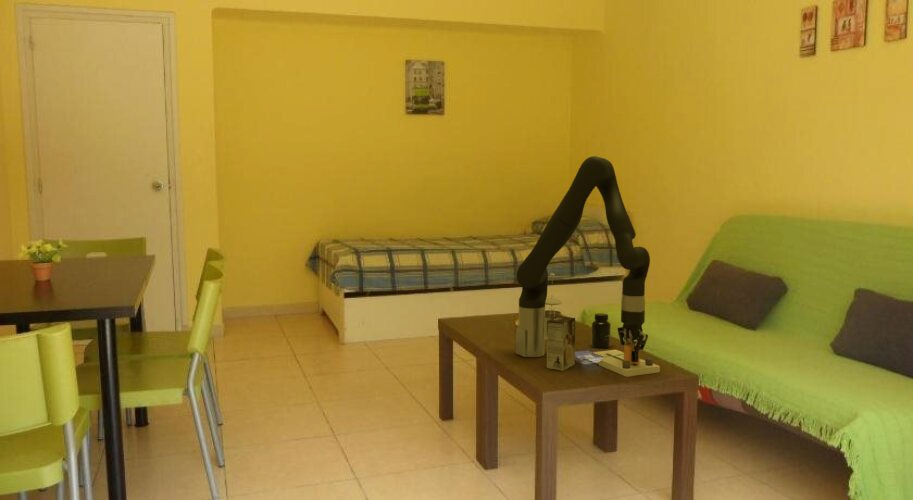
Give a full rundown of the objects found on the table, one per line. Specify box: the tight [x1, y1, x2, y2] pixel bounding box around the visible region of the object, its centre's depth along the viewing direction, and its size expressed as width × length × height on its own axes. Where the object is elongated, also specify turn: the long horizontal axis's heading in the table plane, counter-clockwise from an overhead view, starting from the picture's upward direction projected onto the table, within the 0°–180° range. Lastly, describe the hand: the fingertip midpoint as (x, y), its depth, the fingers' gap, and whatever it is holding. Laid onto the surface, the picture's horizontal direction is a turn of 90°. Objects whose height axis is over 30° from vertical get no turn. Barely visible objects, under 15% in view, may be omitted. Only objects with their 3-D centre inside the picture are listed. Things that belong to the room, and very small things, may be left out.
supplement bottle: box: [590, 312, 611, 349], centre depth 284 cm, size 7×7×12 cm
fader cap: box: [623, 344, 641, 365], centre depth 252 cm, size 4×3×6 cm, turn 114°
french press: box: [545, 272, 563, 340], centre depth 297 cm, size 10×12×25 cm
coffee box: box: [546, 315, 576, 372], centre depth 256 cm, size 9×6×16 cm
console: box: [593, 349, 661, 378], centre depth 258 cm, size 13×24×4 cm, turn 24°
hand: (631, 360), depth 252 cm, fingers closed on fader cap, 2 cm apart
